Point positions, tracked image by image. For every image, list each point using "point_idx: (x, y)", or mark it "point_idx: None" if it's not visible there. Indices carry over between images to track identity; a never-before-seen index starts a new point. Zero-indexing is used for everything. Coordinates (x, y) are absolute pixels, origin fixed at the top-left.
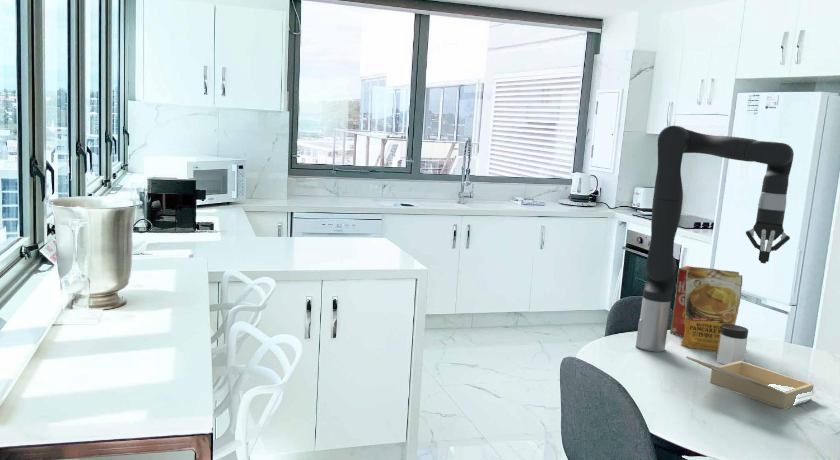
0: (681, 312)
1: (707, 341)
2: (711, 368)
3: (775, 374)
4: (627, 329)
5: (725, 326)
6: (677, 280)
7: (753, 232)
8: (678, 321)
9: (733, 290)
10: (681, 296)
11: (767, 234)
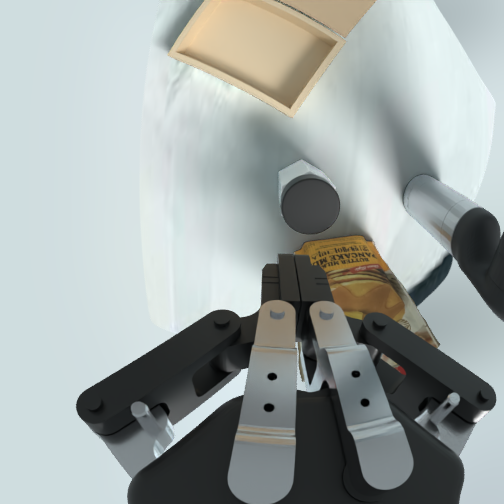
0: None
1: (338, 244)
2: (349, 7)
3: (228, 75)
4: (432, 278)
5: (332, 203)
6: None
7: (440, 430)
8: None
9: None
10: None
11: (319, 446)
